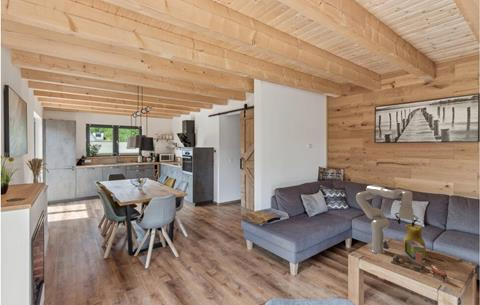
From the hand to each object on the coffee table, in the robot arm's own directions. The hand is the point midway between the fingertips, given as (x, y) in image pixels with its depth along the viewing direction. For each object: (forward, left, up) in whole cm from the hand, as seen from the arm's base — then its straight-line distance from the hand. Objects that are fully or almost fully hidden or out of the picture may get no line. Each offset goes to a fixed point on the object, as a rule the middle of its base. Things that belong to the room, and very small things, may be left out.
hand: (406, 225), depth 205 cm
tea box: (+4, +15, -35) cm, 38 cm away
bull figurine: (+23, -7, -35) cm, 42 cm away
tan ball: (-2, -4, -33) cm, 33 cm away
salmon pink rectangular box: (+10, -4, -33) cm, 35 cm away
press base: (+3, -4, -34) cm, 35 cm away
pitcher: (0, +33, -34) cm, 48 cm away
